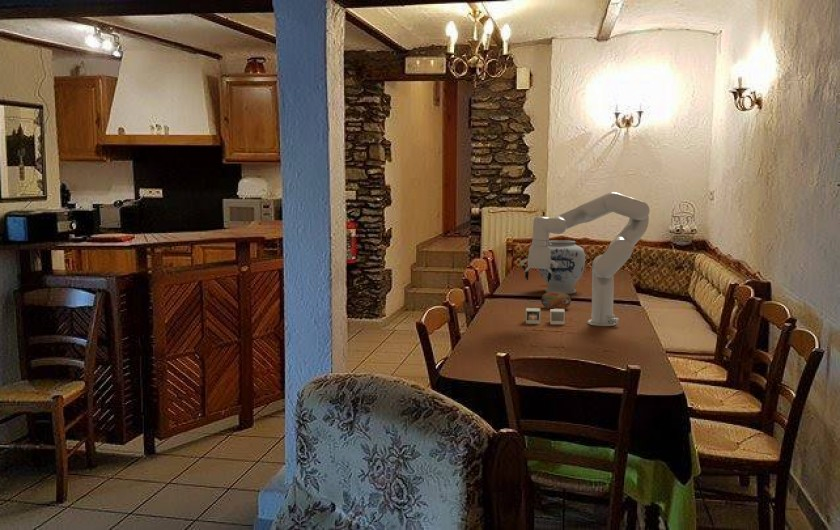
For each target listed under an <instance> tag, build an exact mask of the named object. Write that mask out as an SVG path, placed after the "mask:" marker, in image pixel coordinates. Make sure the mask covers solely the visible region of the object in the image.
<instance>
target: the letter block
mask: <svg viewBox="0 0 840 530" xmlns="http://www.w3.org/2000/svg"><path fill="white" fill-rule="evenodd" d="M529 320H537V313H529Z"/></svg>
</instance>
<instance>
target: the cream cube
mask: <svg viewBox="0 0 840 530" xmlns="http://www.w3.org/2000/svg"><path fill="white" fill-rule="evenodd" d="M565 310H566V309H550V310H549V312H550V314H549V316H550V317H549V319H550V320H549V322H550V323H549V324H550V325H565V321H566V320H565V319H566V317H565V315H566V314H565V312H566V311H565Z"/></svg>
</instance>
